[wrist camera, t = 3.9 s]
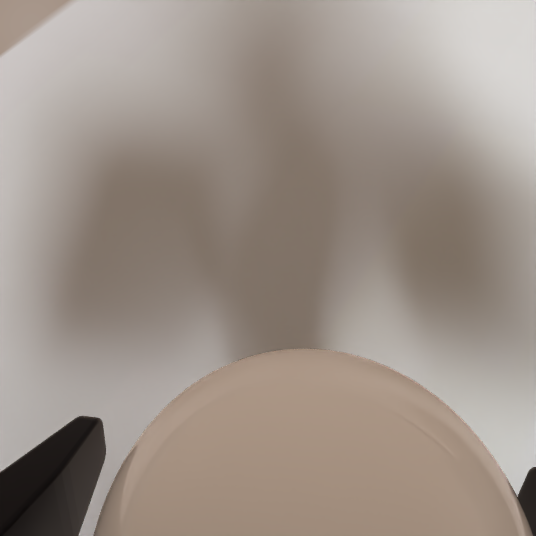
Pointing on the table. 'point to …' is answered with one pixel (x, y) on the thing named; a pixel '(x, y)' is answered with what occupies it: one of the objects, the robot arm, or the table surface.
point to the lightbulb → (309, 458)
